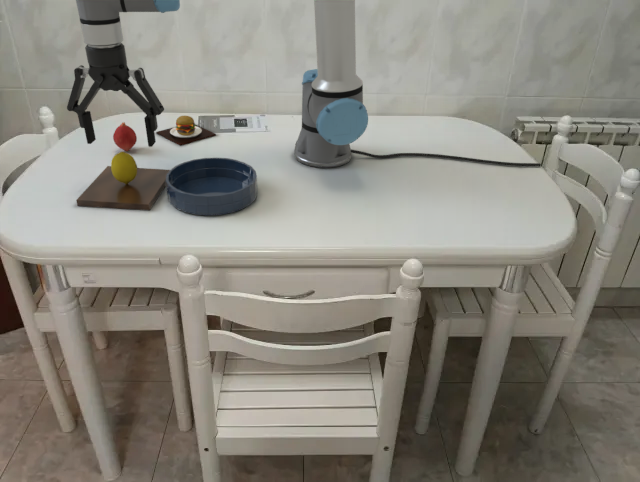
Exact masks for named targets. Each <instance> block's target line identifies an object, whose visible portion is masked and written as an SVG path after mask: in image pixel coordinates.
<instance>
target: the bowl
mask: <svg viewBox="0 0 640 482" xmlns="http://www.w3.org/2000/svg"><path fill="white" fill-rule="evenodd" d="M169 170H170V171H169V172H168V173H167V175H166V186H165V188H166V194H167V196H166V197H167V200H168V202H169V203H170V205H172V207H174V208H175V209H177V210H180V211H182V212H184V213H188V214H191V215H195V216H196V215H197V216H210V217H211V216H221V215H228V214H232V213H235V212H238V211H241V210H243V209H245V208H246V207H248V206H249V205H251V204H252V203H253V202H254V201H255V200H256V199H257V196H258V175H257V171H256V170H255V168H254V167H253V166H252V165H250V164H248V163H246V162H244V161H240V160H239V159H233V158H227V157H202V158H196V159H191V160H188V161H184V162H182V163H181V162H180V163H178V164H177V165H175V166H174V167H172V168H171V169H169Z"/></svg>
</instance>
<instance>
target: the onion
mask: <svg viewBox="0 0 640 482" xmlns="http://www.w3.org/2000/svg"><path fill="white" fill-rule="evenodd" d="M112 139H113V142H114V144H115V145H116V146H117V147H118V148H119V149H121V150H122V151H124V152H129V151H130V150H131V149H132V148H133V147H134V146H135V145H136V143H137V141H138V137H137V134H136V132H135V130H134V129H133V128H132V127H130V126H129V125H127V124H126V122H124V121H123V122H121V124H120V125H119V126H117V127H116V129H115V130H114V132H113V136H112Z"/></svg>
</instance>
